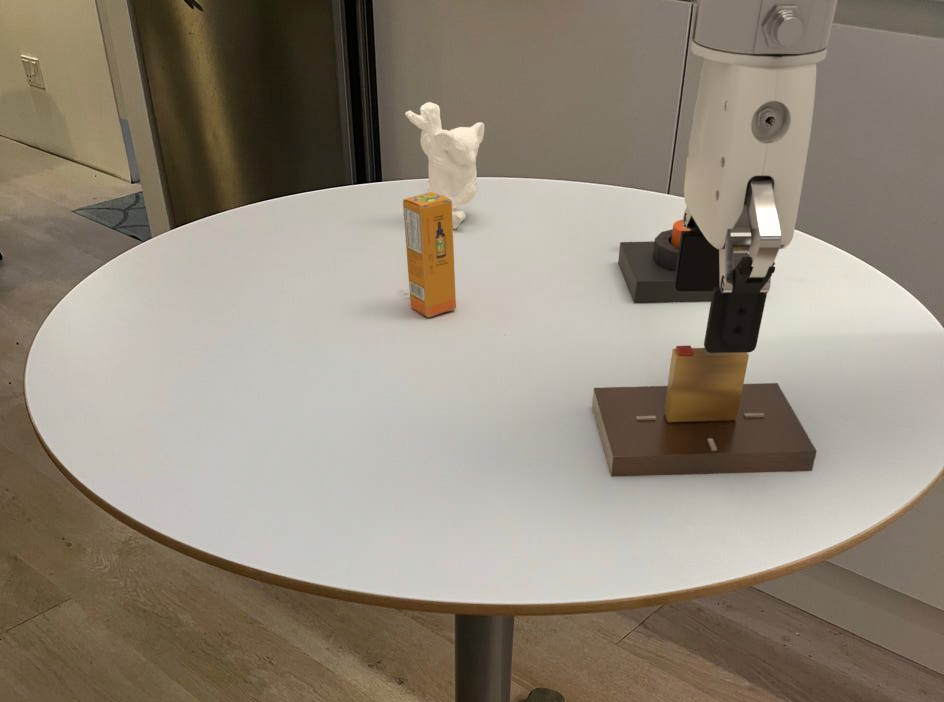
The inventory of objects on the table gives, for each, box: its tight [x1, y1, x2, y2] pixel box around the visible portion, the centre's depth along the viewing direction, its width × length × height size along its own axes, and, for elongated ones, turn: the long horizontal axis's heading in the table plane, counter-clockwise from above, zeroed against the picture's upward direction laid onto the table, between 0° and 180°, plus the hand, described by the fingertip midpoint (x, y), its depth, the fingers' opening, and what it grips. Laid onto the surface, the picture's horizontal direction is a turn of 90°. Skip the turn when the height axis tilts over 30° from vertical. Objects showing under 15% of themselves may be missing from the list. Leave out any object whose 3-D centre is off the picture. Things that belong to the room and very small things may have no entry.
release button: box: [671, 219, 691, 248], centre depth 96 cm, size 4×4×2 cm
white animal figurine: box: [404, 101, 485, 230], centre depth 108 cm, size 8×7×12 cm
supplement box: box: [402, 192, 457, 318], centre depth 91 cm, size 3×3×10 cm
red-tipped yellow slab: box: [664, 345, 750, 422], centre depth 71 cm, size 5×1×5 cm, turn 92°
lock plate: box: [591, 382, 818, 478], centre depth 74 cm, size 14×10×3 cm
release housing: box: [617, 228, 749, 305], centre depth 97 cm, size 12×10×4 cm
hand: (711, 318), depth 68 cm, fingers open, 9 cm apart
